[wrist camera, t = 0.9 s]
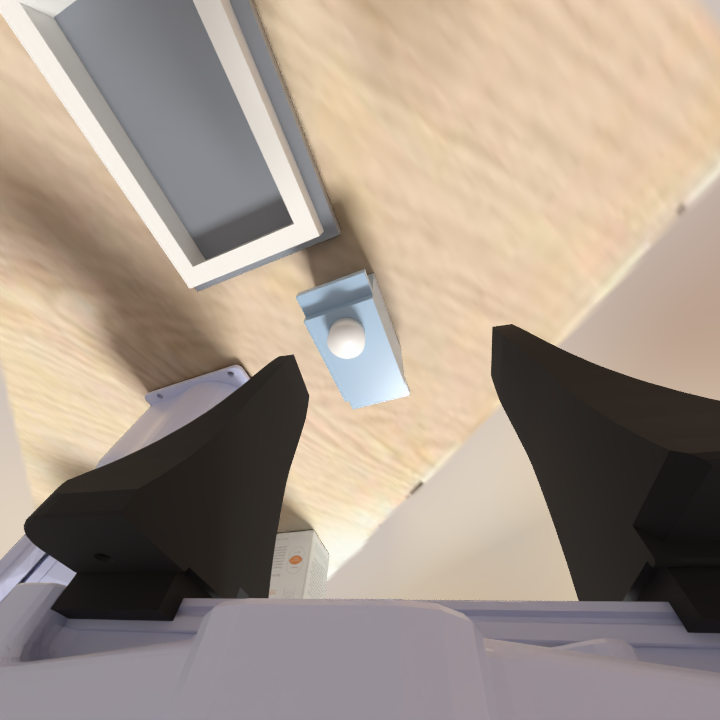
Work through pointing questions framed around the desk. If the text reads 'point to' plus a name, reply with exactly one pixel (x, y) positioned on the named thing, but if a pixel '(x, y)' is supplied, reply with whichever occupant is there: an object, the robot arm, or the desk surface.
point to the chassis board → (186, 124)
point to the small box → (299, 566)
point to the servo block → (356, 338)
